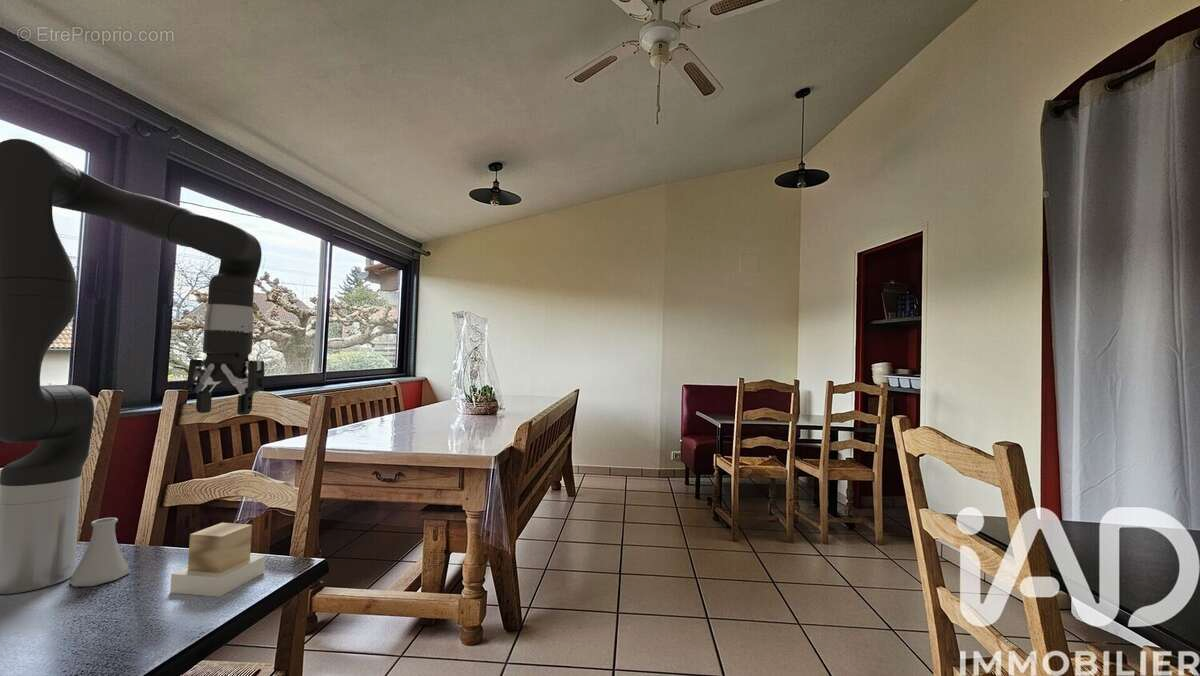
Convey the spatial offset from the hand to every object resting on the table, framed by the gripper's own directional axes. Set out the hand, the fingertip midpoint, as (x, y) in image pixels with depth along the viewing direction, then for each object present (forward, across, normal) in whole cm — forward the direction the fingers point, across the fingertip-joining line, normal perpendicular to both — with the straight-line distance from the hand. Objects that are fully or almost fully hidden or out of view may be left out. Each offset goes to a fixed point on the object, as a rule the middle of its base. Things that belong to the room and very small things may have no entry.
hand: (223, 413), depth 93 cm
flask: (+28, -13, -9) cm, 32 cm away
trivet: (+28, +8, -7) cm, 30 cm away
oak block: (+25, +8, -7) cm, 27 cm away
